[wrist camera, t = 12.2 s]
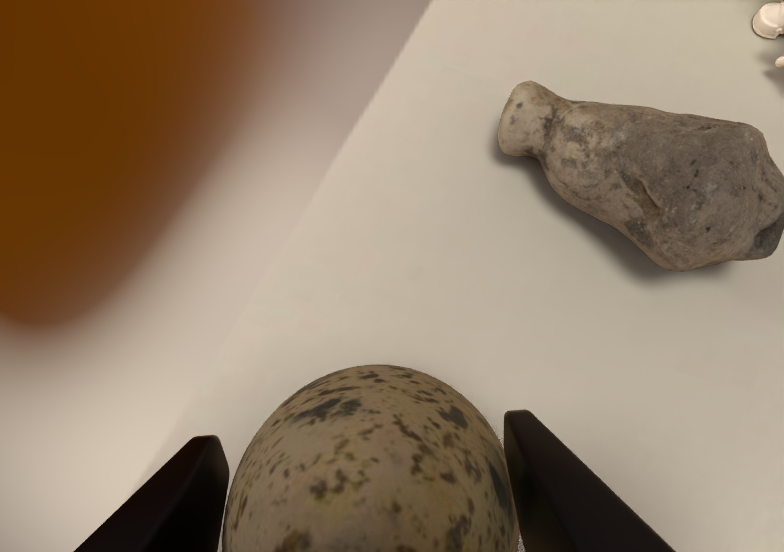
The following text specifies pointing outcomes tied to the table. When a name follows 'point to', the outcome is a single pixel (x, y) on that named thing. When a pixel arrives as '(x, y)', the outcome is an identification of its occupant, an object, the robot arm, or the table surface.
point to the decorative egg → (373, 471)
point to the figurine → (770, 23)
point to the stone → (654, 175)
